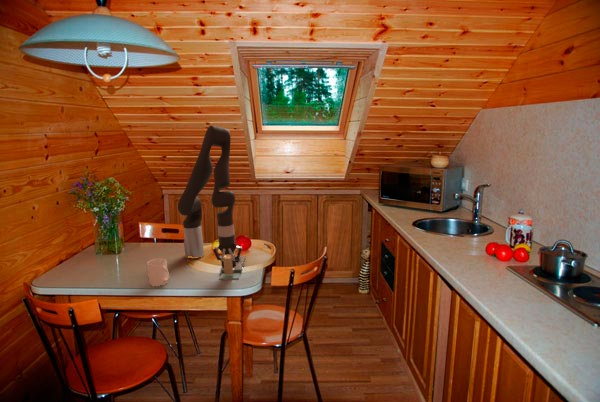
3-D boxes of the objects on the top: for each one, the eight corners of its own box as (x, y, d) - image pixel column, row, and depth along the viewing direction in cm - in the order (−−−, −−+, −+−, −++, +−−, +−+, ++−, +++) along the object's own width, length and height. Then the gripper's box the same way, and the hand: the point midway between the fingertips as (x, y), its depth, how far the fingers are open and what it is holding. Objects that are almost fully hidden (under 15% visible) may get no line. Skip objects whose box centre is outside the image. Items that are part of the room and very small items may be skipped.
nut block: (224, 274, 200) (223, 259, 198) (226, 271, 204) (224, 255, 201) (233, 274, 200) (231, 258, 197) (234, 270, 203) (233, 255, 201)
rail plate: (220, 273, 205) (220, 269, 205) (226, 260, 221) (226, 256, 220) (241, 273, 205) (241, 269, 205) (245, 259, 221) (245, 256, 220)
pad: (219, 279, 199) (219, 278, 199) (221, 274, 205) (221, 273, 205) (238, 279, 199) (238, 278, 199) (240, 273, 205) (240, 272, 205)
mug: (162, 290, 190) (159, 268, 188) (145, 284, 197) (142, 263, 194) (177, 283, 197) (175, 261, 194) (160, 277, 204) (158, 256, 201)
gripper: (209, 236, 193) (212, 271, 197) (240, 235, 192) (243, 270, 197) (212, 231, 200) (215, 264, 204) (242, 230, 200) (245, 263, 204)
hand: (229, 267), depth 201 cm, fingers closed on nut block, 4 cm apart
